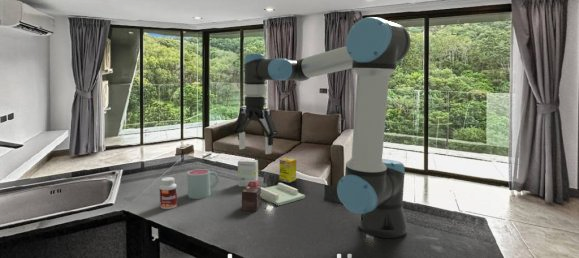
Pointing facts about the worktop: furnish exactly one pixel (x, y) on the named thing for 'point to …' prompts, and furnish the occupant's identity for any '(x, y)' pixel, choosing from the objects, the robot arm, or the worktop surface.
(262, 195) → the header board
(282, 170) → the supplement box
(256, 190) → the box
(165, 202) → the pill bottle
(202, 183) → the mug
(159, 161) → the worktop surface
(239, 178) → the ink box
